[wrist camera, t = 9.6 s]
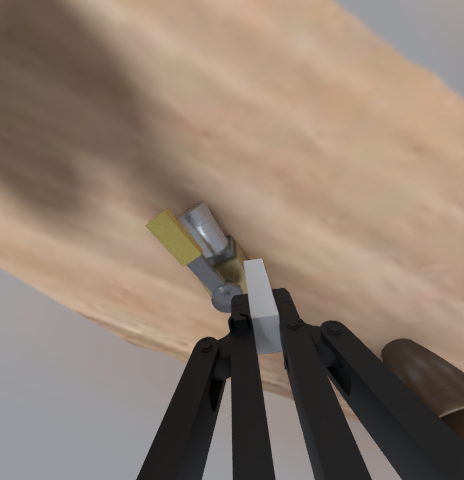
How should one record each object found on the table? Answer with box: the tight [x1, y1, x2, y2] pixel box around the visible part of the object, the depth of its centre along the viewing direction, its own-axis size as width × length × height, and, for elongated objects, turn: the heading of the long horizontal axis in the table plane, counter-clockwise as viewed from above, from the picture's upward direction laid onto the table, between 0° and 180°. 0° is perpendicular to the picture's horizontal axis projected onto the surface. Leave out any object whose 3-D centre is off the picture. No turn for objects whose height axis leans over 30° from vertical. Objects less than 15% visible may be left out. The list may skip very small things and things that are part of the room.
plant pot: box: [382, 339, 464, 441], centre depth 42 cm, size 15×15×16 cm
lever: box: [145, 208, 243, 313], centre depth 30 cm, size 17×4×2 cm, turn 36°
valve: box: [177, 202, 248, 297], centre depth 37 cm, size 24×7×9 cm, turn 29°
